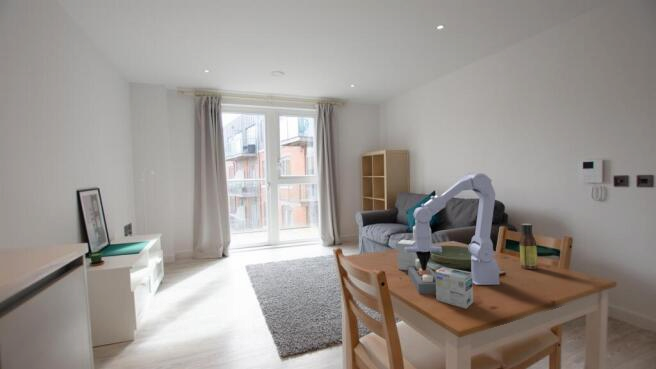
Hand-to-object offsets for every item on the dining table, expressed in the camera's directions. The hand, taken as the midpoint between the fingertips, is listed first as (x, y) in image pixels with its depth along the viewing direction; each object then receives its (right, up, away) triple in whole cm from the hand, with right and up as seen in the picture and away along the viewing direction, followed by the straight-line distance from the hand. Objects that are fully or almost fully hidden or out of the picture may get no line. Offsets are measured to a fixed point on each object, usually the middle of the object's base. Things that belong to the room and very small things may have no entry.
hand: (423, 269), depth 120 cm
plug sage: (+1, -2, +6) cm, 6 cm away
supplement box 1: (-1, -5, +19) cm, 20 cm away
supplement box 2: (+12, -3, +39) cm, 41 cm away
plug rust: (0, -5, 0) cm, 5 cm away
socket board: (0, -6, 0) cm, 6 cm away
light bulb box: (+5, -6, -17) cm, 19 cm away
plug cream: (0, -5, -6) cm, 8 cm away
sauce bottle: (+51, -3, +12) cm, 53 cm away
